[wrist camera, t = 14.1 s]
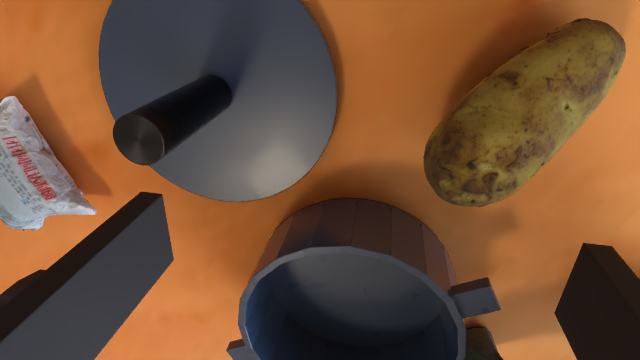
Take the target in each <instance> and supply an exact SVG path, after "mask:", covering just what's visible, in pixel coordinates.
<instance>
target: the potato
mask: <svg viewBox="0 0 640 360" xmlns="http://www.w3.org/2000/svg"><path fill="white" fill-rule="evenodd" d="M625 51H626V50H625V42H624V39H623V38H622V37H621V35H620V34H619V33H618V32H617V31H616V30H615V29H614V28H613V27H611V26H610V25H609V24H607V23H604V22H601V21H597V20H590V19H588V18H584V19H576V20H574V21H573V22H571V23H568V24H566V25H564V26H562V27H560V28H557V29H555V30H554V31H553V32H552V33H551V32H550V33H548V34H547V36H545V37H544V38H542V39H541V40H540V41H539V42H537V43H536V44H534V45H533V46H531V47H526V48H523V49H521V50H520V51H519V52H518V53H516V54H515V55H514V56H512V57H511V58H510V59H509V60H508V61H506V63H505V64H503V65H502V66H500V67H499V68H498V69H496V70H495V71H494V72H492V73H491V74H489V75H488V76H487V77H486V78H485V79H484V80H483V81H481V82H480V83H479V84H477V85H476V86H475V87H474V88H473V89H472V90H470V91H469V92H468V93H467V94H466V95H465V96H464V97H463V98H462V99H461V100H460V101H459V102H458V103H457V104H456V106H455V107H454V108H453V109H452V110H451V112H450V113H449V114H448V115H447V116H446V117H445V118H444V119H443V120H442V121H441V122H440V123H439V124H438V126H437V127H436V128H435V129H434V131H433V132H432V134H431V136H430V137H429V139H428V141H427V144H426V147H425V152H424V170H425V174H426V177H427V180H428V181H429V183H430V185H431V186H432V188H433V189H434V191H435V192H436V193H437V195H438V196H439V197H441V198H442V199H444V200H445V201H447V202H449V203H452V204H455V205H461V206H477V207H482V206H485V205H488V204H492V203H495V202H498V201H501V200H503V199H505V198H507V197H509V196H511V195H512V194H514V193H515V192H516V191H518V190H519V189H520V188H521V187H522V186H523V185H524V184H525V183H526V182H527V180H528V179H529V178H531V177H532V176H534V175H535V173H537V172H538V171H539V170H540V169H541V168H542V167H543V166H544V165H545V164H546V163H547V162H548V161H549V160H550V159H551V158H552V157H553V156H554V155H555V154H556V153H557V152H558V150H559V149H560V148H561V147H562V146H563V145H564V144H565V143H566V141H567V140H568V139H569V138H570V137H571V136H572V135H573V134H574V133H575V132H576V131H577V130H578V129H579V128H580V127H581V126H582V125H583V123H584V122H585V121H586V120H587V119H588V118H589V117H590V115H591V114H592V113H593V112H594V111H595V109H596V108H597V107H598V105H599V104H600V103H601V101H602V100H603V99H604V97H605V96H606V94H607V93H608V91H609V90H610V88H611V86H612V85H613V83H614V81H615V79H616V77H617V75H618V73H619V71H620V69H621V67H622V64H623V61H624V58H625Z"/></svg>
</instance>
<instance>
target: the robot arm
mask: <svg viewBox="0 0 640 360" xmlns="http://www.w3.org/2000/svg"><path fill="white" fill-rule="evenodd" d="M173 260H174V259H173V253H172V247H171V242H170V236H169V230H168V224H167V219H166V213H165V207H164V201H163V196H162V194H156V193H148V192H140V193H139V194H138V195H137V196H135V197H134V198H133V199H132V200H131V201H129V202H128V203H127V204H126V205H124V206H123V207H122V208H121V209H120V210H118V211H117V212H116V213H115V214H114V215H112V216H111V217H110V218H109V219H108V220H106V221H105V222H104V223H103V224H101V225H100V226H99V227H98V228H97V229H95V230H94V231H93V232H92V233H91V234H89V235H88V236H87V237H86V238H85V239H83V240H82V241H81V242H80V243H78V244H77V245H76V246H75V247H74V248H72V249H71V250H70V251H69V252H68V253H66V254H65V255H64V256H63V257H62V258H60V259H59V260H58V261H57V262H55V263H54V264H53V265H52V266H51V267H49V268H48V269H47V270H41V269H40V270H38V271H36V272H34V273H32V274H30V275H29V276H27V277H25V278H23V279H21V280H19V281H17V282H16V283H15V284H13V285H12V286H11V287H10V288H8V289H7V290H6V291H5V292H3V293H2V294H1V295H0V360H94V359H95V358H96V357H97V355H98V354H99V353H100V352H101V350H102V349H103V348H104V347H105V345H106V344H107V343H108V342H109V340H110V339H111V338H112V337H113V335H114V334H115V333H116V332H117V330H118V329H119V328H120V326H121V325H122V324H123V323H124V321H125V320H126V319H127V318H128V316H129V315H130V314H131V313H132V311H133V310H134V309H135V308H136V306H137V305H138V304H139V303H140V301H141V300H142V299H143V298H144V296H145V295H146V294H147V293H148V291H149V290H150V289H151V288H152V286H153V285H154V284H155V283H156V281H157V280H158V279H159V278H160V276H161V275H162V274H163V273H164V271H165V270H166V269H167V267H168V266H169V265H170V264H171V262H172V261H173ZM555 315H556V317H557V319H558V321H559V323H560V325H561V327H562V329H563V331H564V334H565V336H566V338H567V340H568V342H569V344H570V346H571V348H572V350H573V352H574V354H575V356H576V358H577V360H640V280H639V278H638V277H637V276H636V275H635V274H634V272H633V271H632V270H631V269H630V268H629V266H628V265H627V264H626V263H625V262H624V260H623V259H622V258H621V257H620V255H619V254H618V253H617V252H616V251H615V249H614V248H613V247H612V246H605V245H596V244H587V243H583V245H582V247H581V250H580V252H579V255H578V257H577V260H576V262H575V264H574V267H573V269H572V272H571V274H570V277H569V279H568V281H567V284H566V286H565V289H564V291H563V294H562V296H561V298H560V301H559V303H558V306H557V308H556V311H555Z"/></svg>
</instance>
